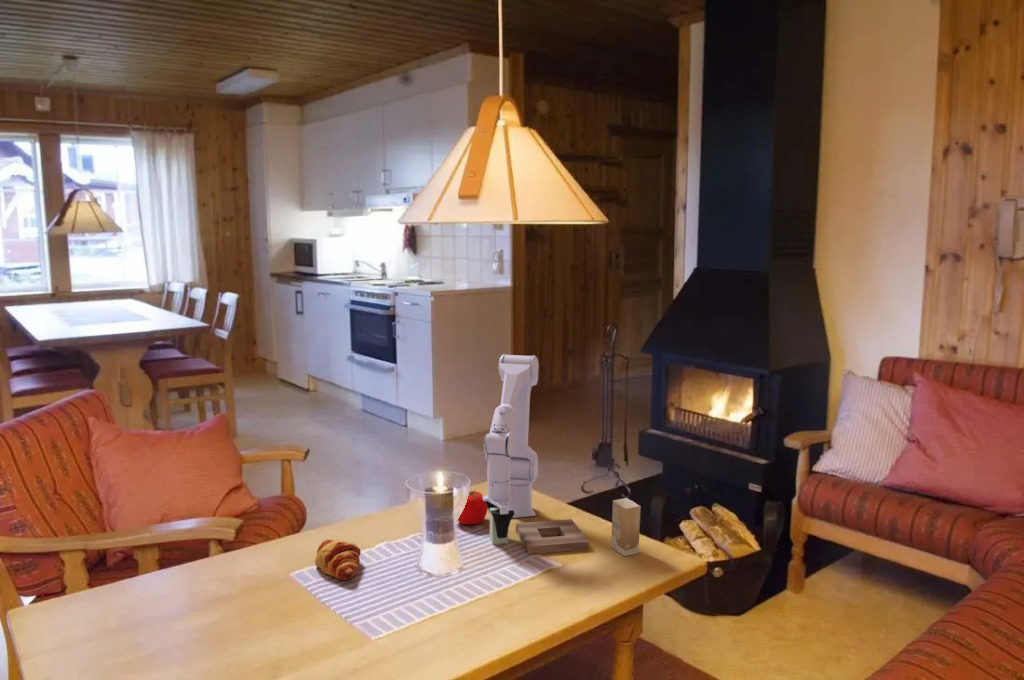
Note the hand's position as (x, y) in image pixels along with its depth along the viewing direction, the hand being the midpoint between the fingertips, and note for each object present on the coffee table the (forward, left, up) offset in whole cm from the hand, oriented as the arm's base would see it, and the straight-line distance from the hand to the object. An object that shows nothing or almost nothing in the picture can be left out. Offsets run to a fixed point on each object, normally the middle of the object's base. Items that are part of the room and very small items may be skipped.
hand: (498, 531), depth 197 cm
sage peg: (0, 0, -2) cm, 2 cm away
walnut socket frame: (+2, +13, -2) cm, 13 cm away
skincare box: (+12, +29, -3) cm, 31 cm away
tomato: (-14, -5, -3) cm, 15 cm away
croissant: (+7, -39, -3) cm, 40 cm away
